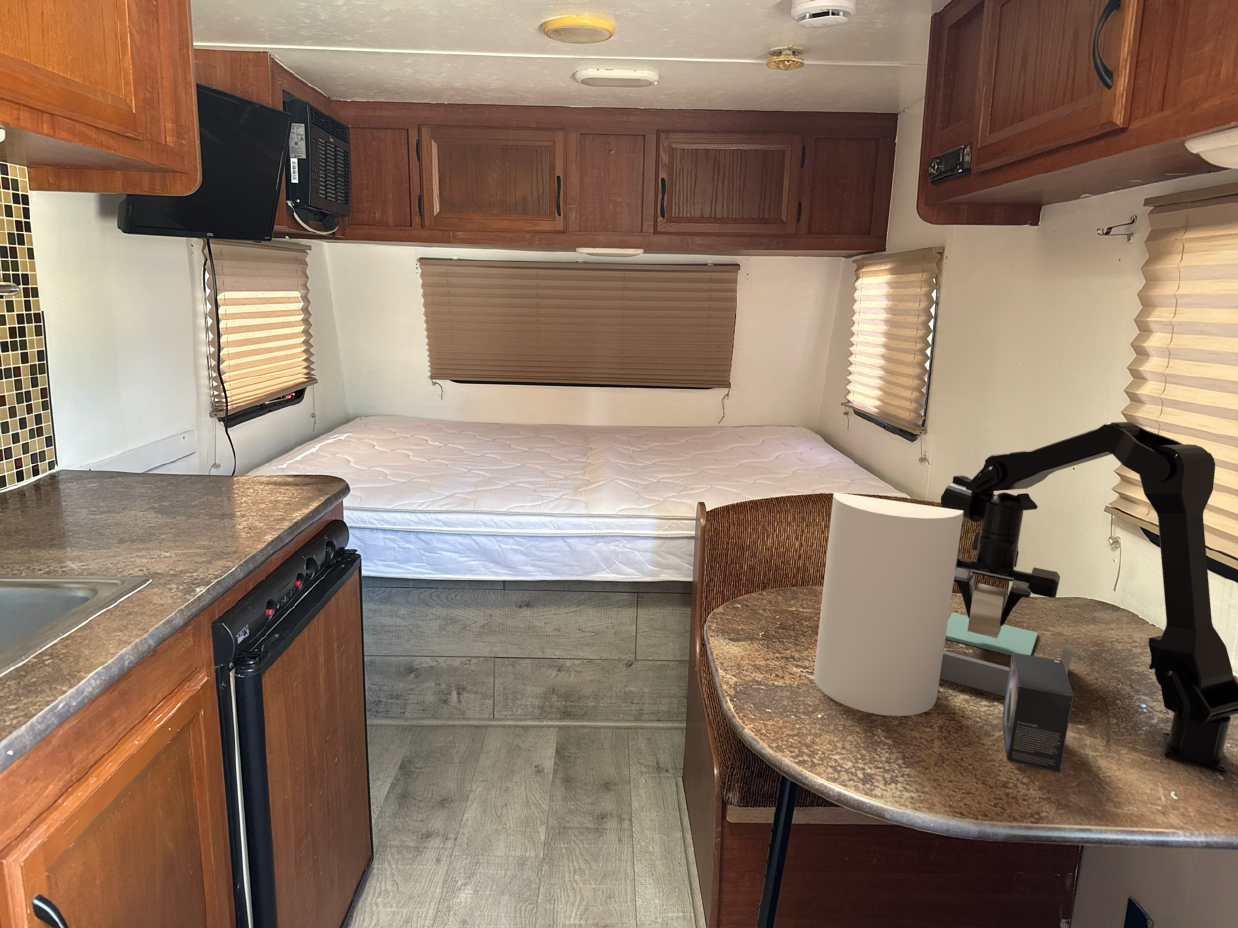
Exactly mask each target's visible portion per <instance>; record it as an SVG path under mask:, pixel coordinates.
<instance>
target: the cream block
mask: <svg viewBox="0 0 1238 928" xmlns="http://www.w3.org/2000/svg"><path fill="white" fill-rule="evenodd" d="M1007 594H1008V589H1006V588H1002V587H997V586H992V585H987V584H983V583H980V582H979V583H977V584H976V586H975V587H974V591H973V598H972V604H971V611H970V617H969V624H968V630H967V631H969V632H973V633H977V634H981V635H985V636H989V637H993V638H998V635H999V633H1000V631H1001V626H1000V623H1001V617H1002V613H1003V610H1004V607H1005V604H1006V601H1007V597H1008V595H1007Z"/></svg>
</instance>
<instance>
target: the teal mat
mask: <svg viewBox="0 0 1238 928" xmlns="http://www.w3.org/2000/svg"><path fill="white" fill-rule="evenodd" d="M968 624H969V618H968V615H966V614H961V613H957V612H954V611H953V612H952V613H950V614H949V617H948V624H947V631H946V638H945V640H949V641H952V642H956V643H960V644H964V645H969V646H973V647H976V648H980V649H984V650H988V651H992V652H996V653H1001V654H1003V655H1004V654H1005V655H1007V656H1011V657H1012V653H1019V654H1025V655H1031V656H1032V654H1033V650H1034V646H1035V644H1036V641H1037V638H1038V634H1039V633H1038V631H1037V632H1036V631H1032V630H1029V629H1024V628H1021V627H1016V626H1012V625H1008V624H1004V625H1003V626H1001V631H1000V633H999V635H998V638H993V637H989V636H985V635H981V634H977V633H973V632H969V631H967V630H968Z"/></svg>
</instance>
